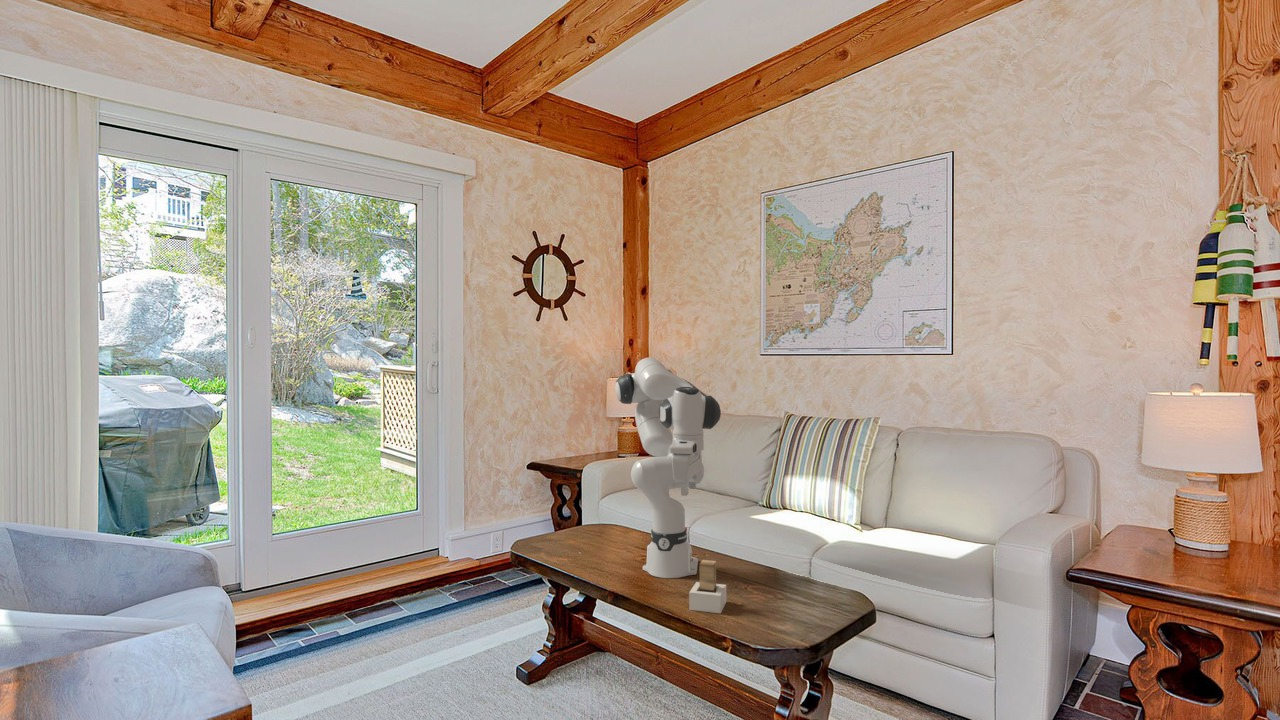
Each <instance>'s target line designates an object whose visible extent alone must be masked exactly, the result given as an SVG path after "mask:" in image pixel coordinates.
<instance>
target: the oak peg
mask: <svg viewBox="0 0 1280 720" xmlns="http://www.w3.org/2000/svg"><path fill="white" fill-rule="evenodd" d="M698 566H699V569H698V570H699V582H700V591H702V592H712V593H716V584H717V561H716V560H708V559H702V560H701V561H700V563H698Z"/></svg>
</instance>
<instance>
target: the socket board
mask: <svg viewBox="0 0 1280 720" xmlns="http://www.w3.org/2000/svg"><path fill="white" fill-rule="evenodd" d="M688 603H689V604H688V605H689V607H688V609H689V611H696V612H706V613H714V614H721V613H722V612H723V610H724V608H725V606H726V604H727V584H723V583H716V593H712V592H702V591H700V581H696V582H695V583H694V585H693V586H692V587H691V589H690V590H689V593H688Z"/></svg>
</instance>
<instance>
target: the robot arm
mask: <svg viewBox="0 0 1280 720" xmlns="http://www.w3.org/2000/svg"><path fill="white" fill-rule="evenodd" d="M614 389H615V391H614V392H615V395H616V397H617V398H618V399H617V400H618V401H619V402H620V403H621V404H625V405H631V404H634V403H635V404H636V405H635V408H634V419H635V425H636V428H637V432H638V435H639V439H640V442H641V445H642V448H643V450H644V452H646V453H647V454H649V455H651V456H652V457H651V456H650V457H645V458H643V459H639V460H636V461H635V462H634V463H633V465H632V467H631V471H630V478H631V481H632V483H633V486H635V488H636V489H637V490H639V491H641V492H642V493H643V494H644V495H645V498H647V501H648V502H649V505H650V510H651V520H652V521H651V524H652V525H651V526H652V529H651V530H650V531H651V532H650V543H649V544H648V545H647V548H646V564H643V565H642V570H643V571H645V572H647V573H648V574H649V575H651V576H653V577H656V578H661V579H676V578H677V579H678V578H684V577H687V576H693V575H697V573H698V566H699V559H698V558H697V557H693V556H692V554H693V552H692V545H691V544H690V542H689V541H688V527H687V526H686V514H685V513H686V512H685V511H686V510H685V507H684V505H683V504H682V502H680V501H679V500H677V499H675V498H673V497H671V496H670V490H671V489H672V490H673V489H680V495H681V496H683V497H684V496H685V497H686V496H688V495H689V489H690V490H694V489H696V487H697V485H700V483H701V482H702V480H703V478H704V476H705V467H704V463H703V462H702V461H703V460H702V457H703V456H702V451H704V449H705V448H704V447H705V446H704V441H705V440H704V430H705V429H706V430H711V429H713V428H714V427H716V425H717V424H718V423H719V421H720V419H721V415H722V414H721V413H722V412H721V406H720V404H719V402H718V400H716V399H715V397H713V396H712V395H707V394H705V393H704V392H703V391H702V390H700V389H699V388H697V387H696V385H694V384H692V383H691V382H690V381H688V380H686V379H684V378H681V376H679V375H676V374H674V373H673V372H672V371H671V370H670V369H668V368H667V367H666V366H665V365H664V363H662V362H660V361H659V360H658V359H656V358H653V357H644V358H642V359H640V360H639V361H638V362H637V363H636V366H635V369H634V372H632V373H628V372H627V373H626V374H623V375H622V376H621V375H620V376H619V377H618V378H617V380H616V381H615V388H614ZM703 429H704V430H703Z"/></svg>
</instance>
